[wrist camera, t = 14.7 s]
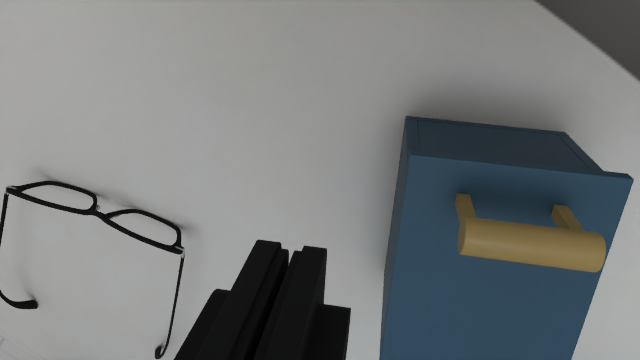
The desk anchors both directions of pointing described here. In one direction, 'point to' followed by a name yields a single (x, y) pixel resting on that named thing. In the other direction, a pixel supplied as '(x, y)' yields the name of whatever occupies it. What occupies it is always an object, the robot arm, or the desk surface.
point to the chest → (477, 144)
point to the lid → (497, 257)
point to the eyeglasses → (105, 218)
